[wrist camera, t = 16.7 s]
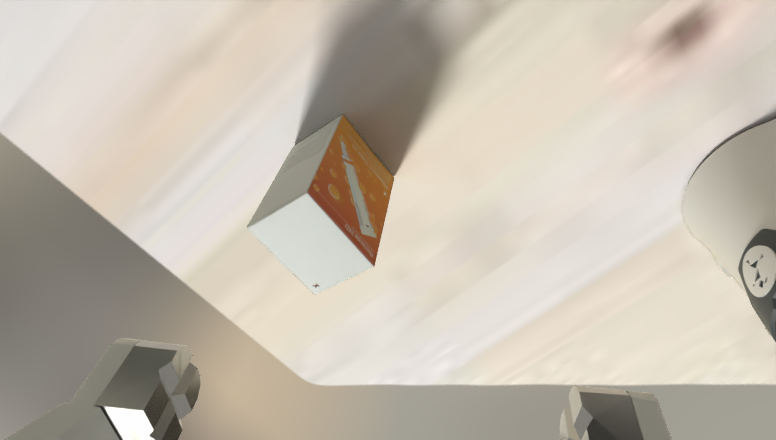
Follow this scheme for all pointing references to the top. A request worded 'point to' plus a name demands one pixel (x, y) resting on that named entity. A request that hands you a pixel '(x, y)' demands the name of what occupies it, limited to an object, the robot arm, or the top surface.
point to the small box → (326, 208)
